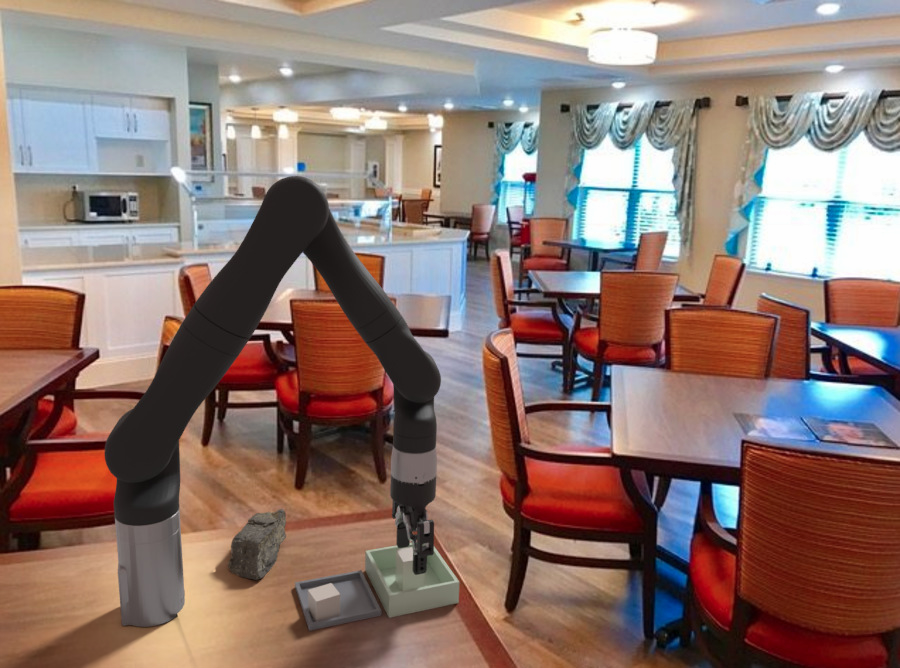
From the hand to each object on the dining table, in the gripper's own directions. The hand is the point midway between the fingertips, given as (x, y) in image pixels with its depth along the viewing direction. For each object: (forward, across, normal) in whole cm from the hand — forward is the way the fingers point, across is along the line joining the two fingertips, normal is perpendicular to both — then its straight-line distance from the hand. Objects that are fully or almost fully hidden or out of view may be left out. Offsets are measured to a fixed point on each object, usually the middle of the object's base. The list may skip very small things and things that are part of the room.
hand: (410, 559), depth 120 cm
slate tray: (+6, 0, -13) cm, 14 cm away
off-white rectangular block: (+5, 0, 0) cm, 5 cm away
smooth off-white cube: (+5, +3, -16) cm, 17 cm away
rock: (+6, -18, -23) cm, 30 cm away
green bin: (+6, 0, 0) cm, 6 cm away
